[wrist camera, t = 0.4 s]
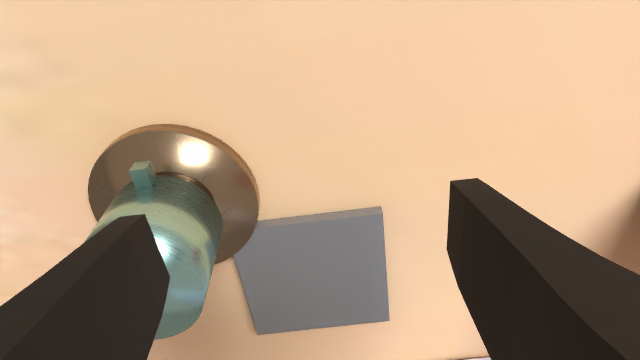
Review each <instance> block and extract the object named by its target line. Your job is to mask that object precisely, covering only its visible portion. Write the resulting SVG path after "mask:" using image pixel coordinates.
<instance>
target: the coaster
mask: <svg viewBox="0 0 640 360" xmlns="http://www.w3.org/2000/svg"><path fill="white" fill-rule="evenodd" d="M233 256H234V259H235V263H236V266H237V269H238V272H239V276H240V279H241V282H242V285H243V289H244V292H245V295H246V298H247V302H248V305H249V308H250V311H251V315H252V318H253V321H254V324H255V328H256V331H257V334H258V335H261V334H270V333H280V332H289V331H299V330H308V329H317V328H327V327H336V326H346V325H355V324H364V323H374V322H383V321H389V305H388V289H387V273H386V257H385V241H384V225H383V213H382V209H381V207H373V208H365V209H356V210H348V211H339V212H331V213H323V214H314V215H306V216H297V217H289V218H280V219H272V220H263V221H257V223H256V226H255V229H254V232H253V234H252V236H251V238H250V239H249V240H248V242H247V243H246V244H245V246H244V247H243V248H242V249H241V250H240V251H238V252H237V253H236V254H234V255H233Z"/></svg>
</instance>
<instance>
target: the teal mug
mask: <svg viewBox="0 0 640 360" xmlns="http://www.w3.org/2000/svg"><path fill="white" fill-rule="evenodd" d="M129 173H130V176H131V178H132V182H130V183H128V184H127V185H125V186H124V187H123V188H122V189H121V190H120V191H119V192H118V194H117V195H116V196H115V198H114V199H113V201H112V202H111V204H110V205H109V207H108V208H107V210H106V211H105V213H104V214H103V215H102V217H101V218H100V220H99V221H98V223H97V224H96V226H95V227H94V229H93V230H92V232H91V233H90V235H89V236H88V238H87V239H86V241H87V240H88V239H90V238H91V237H92V236H94V235H95V234H96V233H97V232H99V231H100V230H101V229H103V228H104V227H105V226H107V225H108V224H110V223H111V222H112V221H114V220H116V219H117V218H119V217H121V216H130V215H140V214H145V215H146V218H147V220H148V223H149V225H150V228H151V230H152V233H153V235H154V238H155V240H156V243H157V245H158V248H159V250H160V253H161V255H162V258H163V260H164V263H165V265H166V268H167V270H168V273H169V275H170V281H169V287H168V292H167V297H166V302H165V306H164V310H163V314H162V318H161V321H160V324H159V327H158V329H157V332H156V335H155V338H154V339H162V338H167V337H171V336H174V335H177V334H179V333H181V332H183V331H185V330H186V329H188V328H189V327H190V326H191V325H193V324H194V323H195V321H196V320H197V319H198V317H199V315H200V313H201V311H202V307H203V304H204V300H205V296H206V292H207V289H208V285H209V281H210V277H211V274H212V270H213V266H214V262H215V259H216V255H217V251H218V247H219V243H220V240H221V236H222V232H223V221H222V216H221V213H220V211H219V209H218V207H217V205H216V204H215V202H214V201H213V200H212V199H211V198H210V197H209V195H208V194H206V193H205V192H204V191H203V190H202V189H200V188H198V187H197V186H195V185H193V184H191V183H189V182H187V181H185V180H182V179H179V178H175V177H170V176H158V175H157V176H156V173H155V170H154V168H153V165H152V163H151V161H143V162H135V163H134V164H133V165H132V167H131V168H130V170H129ZM86 241H85V242H86ZM85 242H84V243H85Z"/></svg>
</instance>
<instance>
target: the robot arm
mask: <svg viewBox="0 0 640 360" xmlns="http://www.w3.org/2000/svg"><path fill="white" fill-rule="evenodd" d="M447 251H448V255H449V258H450V262H451V265H452V269H453V272H454V275H455V278H456V281H457V284H458V287H459V290H460V292H461V294H462V296H463V299H464V301H465V303H466V305H467V308H468V310H469V312H470V314H471V316H472V319H473V321H474V323H475V325H476V327H477V330H478V332H479V334H480V336H481V338H482V340H483V343H484V345H485V347H486V349H487V351H488V354H489V356H490V357H485V358H475V359H465V360H640V275H638V274H636V273H634V272H632V271H630V270H628V269H626V268H624V267H622V266H620V265H617V264H615V263H613V262H612V261H610V260H608V259H606V258H604V257H602V256H600V255H598V254H597V253H595V252H593V251H591V250H589V249H588V248H586V247H584V246H583V245H581V244H579V243H577V242H576V241H574V240H572V239H570V238H569V237H567V236H565V235H564V234H562V233H560V232H559V231H557V230H555V229H554V228H552V227H550V226H549V225H547V224H546V223H544V222H543V221H541V220H539V219H538V218H536V217H535V216H533V215H532V214H530V213H529V212H527V211H526V210H524V209H523V208H521V207H520V206H518V205H517V204H515V203H514V202H512V201H511V200H509V199H508V198H506V197H505V196H504V195H502V194H501V193H499V192H498V191H496V190H495V189H493V188H492V187H490V186H489V185H487V184H486V183H484V182H483V181H481V180H479V179H478V178H474V179H465V180H455V181H450V198H449V217H448V236H447ZM169 281H170V275H169V273H168V270H167V268H166V265H165V263H164V260H163V258H162V255H161V253H160V250H159V248H158V245H157V243H156V240H155V238H154V235H153V233H152V230H151V228H150V225H149V223H148V220H147V218H146V215H145V214H140V215H130V216H121V217H119V218H117V219H116V220H114V221H112V222H111V223H110V224H108V225H107V226H105V227H104V228H103V229H101V230H100V231H99V232H97V233H96V234H95V235H94V236H92V237H91V238H90V239H88V240H87V241H86V242H85V243H83V244H82V245H81V246H80V247H78V248H77V249H76V250H74V251H73V252H72V253H71V254H69V255H68V256H67V257H66V258H64V259H63V260H62V261H60V262H59V263H58V264H57V265H55V266H54V267H53V268H51V269H50V270H49V271H48V272H46V273H45V274H44V275H42V276H41V277H40V278H38V279H37V280H36V281H34V282H33V283H32V284H30V285H29V286H28V287H26V288H25V289H23V290H22V291H21V292H19V293H18V294H17V295H15V296H14V297H13V298H11V299H10V300H9V301H7V302H6V303H4V304H3V305H2V306H0V360H147V357H148V354H149V352H150V349H151V346H152V343H153V341H154V338H155V335H156V332H157V329H158V327H159V324H160V321H161V318H162V314H163V310H164V306H165V302H166V297H167V292H168V287H169Z"/></svg>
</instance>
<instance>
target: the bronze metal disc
mask: <svg viewBox="0 0 640 360" xmlns="http://www.w3.org/2000/svg"><path fill="white" fill-rule="evenodd" d="M143 161H151V163H152V165H153V168H154V170H155V173H156V176H157V175H158V176H170V177H175V178H179V179H182V180H185V181H187V182H189V183H191V184H193V185H195V186H197V187H198V188H200V189H202V190H203V191H204V192H205V193H206V194H208V195H209V197H210V198H211V199H212V200H213V201H214V202H215V204H216V205H217V207H218V209H219V211H220V213H221V216H222V221H223V232H222V236H221V240H220V243H219V247H218V251H217V255H216V259H215V262H214V264H217V263H219V262H222V261H224V260H226V259H228V258H230V257H231V256H233V255H234V254H236V253H237V252H238V251H240V250H241V249H242V248H243V247H244V246H245V244H246V243H247V242H248V240H249V239H250V238H251V236H252V234H253V232H254V229H255V226H256V223H257V217H258V211H259V192H258V187H257V184H256V181H255V178H254V176H253V174H252V172H251V170H250V169H249V167H248V166H247V164H246V163H245V161H244V160H243V159H242V158H241V157H240V156H239V154H237V153H236V152H235V151H234V150H233V149H232V148H231V147H230V146H228V145H227V144H225V143H224V142H223V141H221V140H219V139H218V138H216V137H214V136H212V135H210V134H208V133H205V132H203V131H201V130H198V129H194V128H191V127H187V126H181V125H172V124H158V125H149V126H144V127H140V128H137V129H134V130H131V131H129V132H127V133H125V134H124V135H122V136H120V137H119V138H118V139H116V140H115V141H114V142H113V143H112V144H111V145H110V146H109V147H108V148H107V149H106V150H105V151H104V152H103V153H102V155H101V156H100V157H99V159H98V160H97V161H96V163H95V165H94V167H93V169H92V171H91V174H90V178H89V184H88V195H89V202H90V206H91V209H92V211H93V214H94V216H95V218H96V220H97V221H99V220H100V218H101V217H102V215H103V214H104V213H105V211H106V210H107V208H108V207H109V205H110V204H111V202H112V201H113V199H114V198H115V196H116V195H117V194H118V192H119V191H120V190H121V189H122V188H123V187H124V186H125V185H127V184H128V183H130V182H132V178H131V176H130V173H129V170H130V168H131V167H132V165H133V164H134V163H135V162H143Z"/></svg>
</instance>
